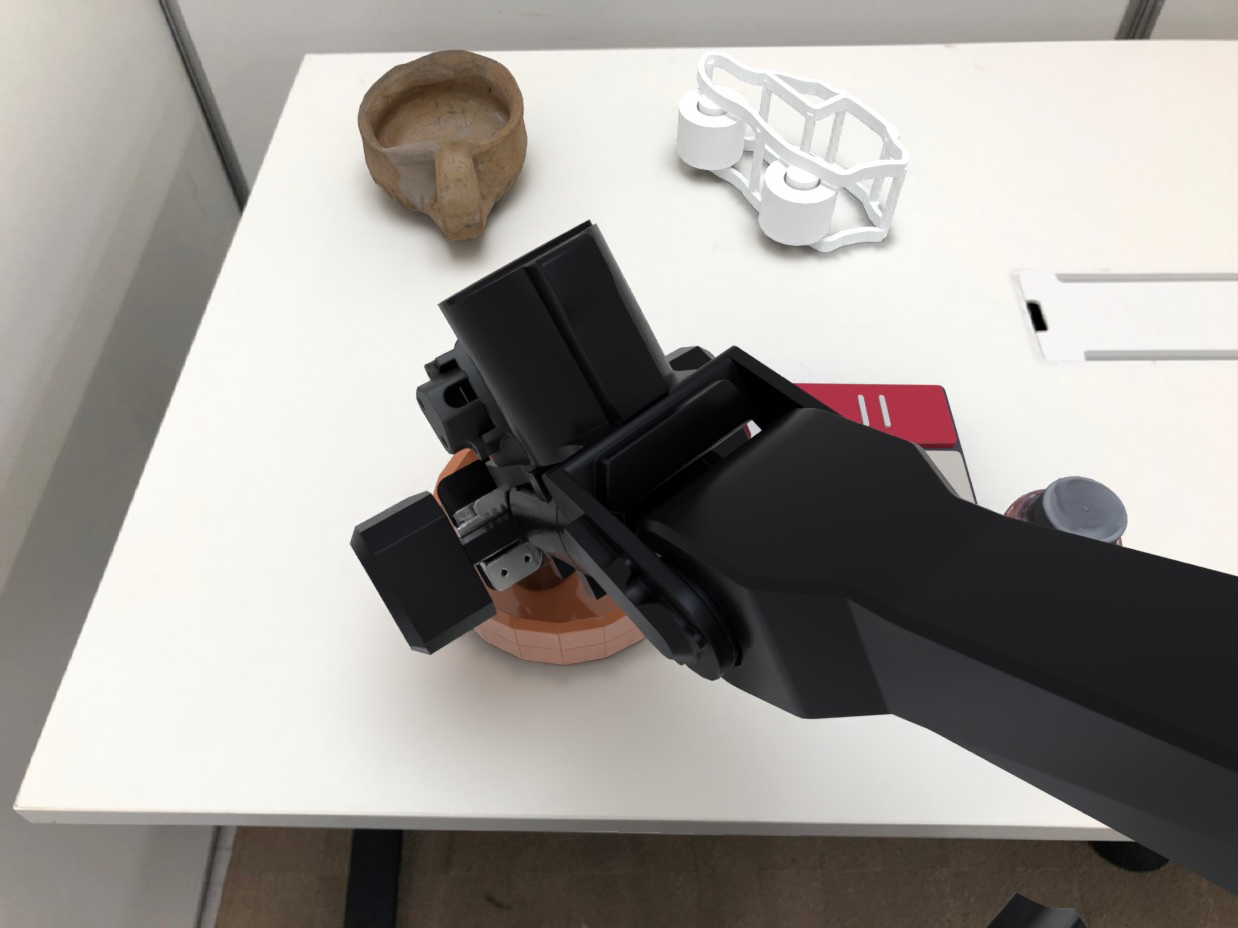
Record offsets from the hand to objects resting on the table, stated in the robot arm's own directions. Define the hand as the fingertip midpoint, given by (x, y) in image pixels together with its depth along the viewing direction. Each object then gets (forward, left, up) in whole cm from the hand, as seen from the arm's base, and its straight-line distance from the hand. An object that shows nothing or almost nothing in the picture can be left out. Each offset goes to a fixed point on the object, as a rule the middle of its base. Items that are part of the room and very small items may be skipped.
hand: (514, 474), depth 47 cm
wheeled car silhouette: (+30, -24, -8) cm, 40 cm away
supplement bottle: (-9, -27, -8) cm, 30 cm away
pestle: (-1, -1, -8) cm, 8 cm away
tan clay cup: (+34, +2, -8) cm, 35 cm away
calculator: (+1, -20, -8) cm, 22 cm away
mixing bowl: (-1, -2, -8) cm, 9 cm away
